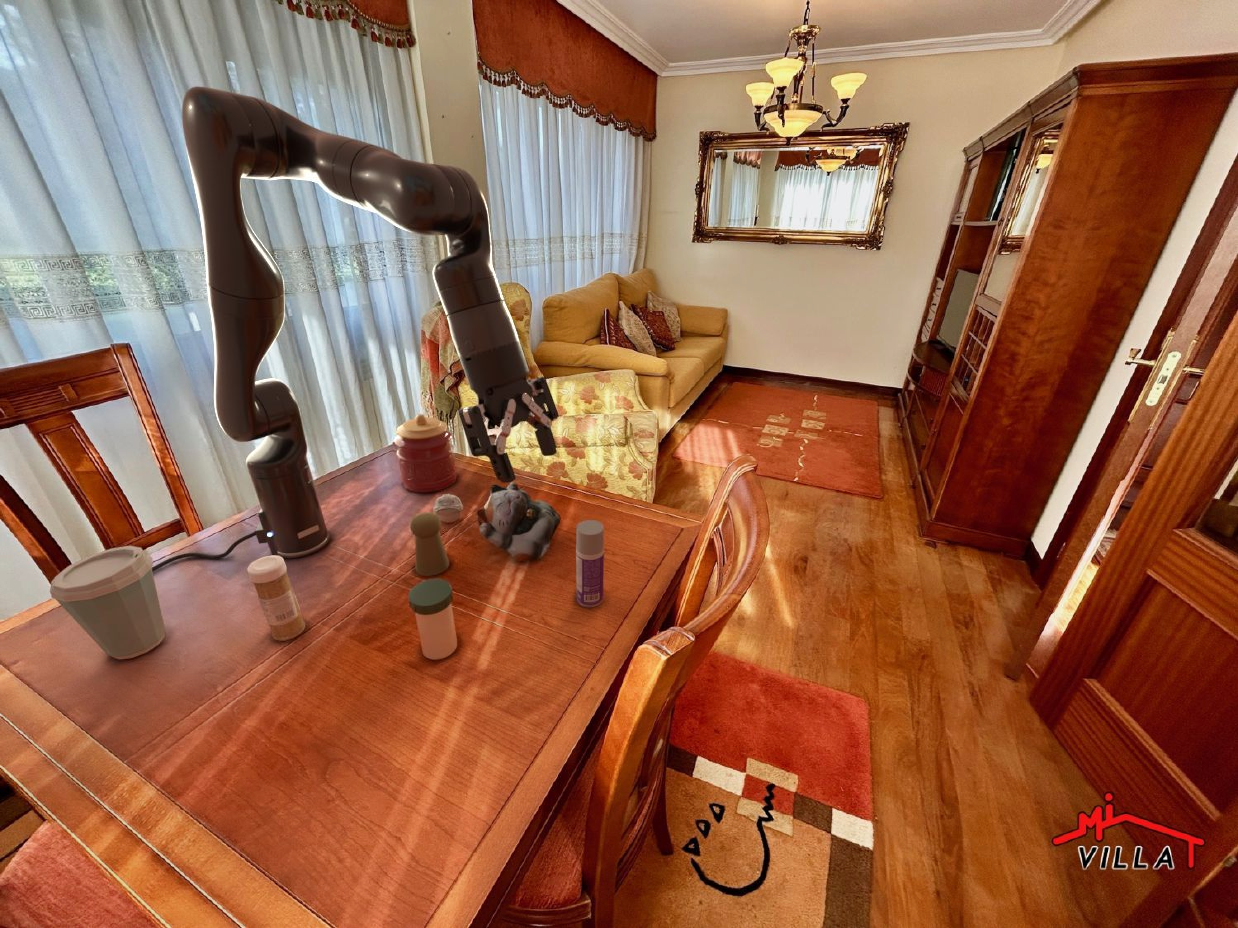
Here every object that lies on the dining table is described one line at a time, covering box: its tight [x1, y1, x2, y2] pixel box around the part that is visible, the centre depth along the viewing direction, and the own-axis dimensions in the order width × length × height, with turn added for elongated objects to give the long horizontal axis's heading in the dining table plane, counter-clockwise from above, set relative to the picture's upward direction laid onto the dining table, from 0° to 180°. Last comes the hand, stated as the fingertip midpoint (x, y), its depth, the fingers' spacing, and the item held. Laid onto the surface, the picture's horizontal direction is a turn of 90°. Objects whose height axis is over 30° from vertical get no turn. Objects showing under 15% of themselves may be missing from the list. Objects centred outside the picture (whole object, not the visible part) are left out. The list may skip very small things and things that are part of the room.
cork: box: [409, 511, 450, 577], centre depth 93 cm, size 6×6×11 cm
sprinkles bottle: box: [246, 554, 306, 642], centre depth 76 cm, size 5×5×14 cm
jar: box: [414, 603, 458, 661], centre depth 75 cm, size 5×5×10 cm
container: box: [575, 519, 605, 608], centre depth 85 cm, size 5×5×15 cm
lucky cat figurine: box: [475, 481, 562, 562], centre depth 100 cm, size 15×12×14 cm
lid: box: [408, 578, 454, 615], centre depth 73 cm, size 6×6×2 cm
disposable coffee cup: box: [49, 545, 166, 660], centre depth 73 cm, size 11×11×15 cm
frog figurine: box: [432, 493, 464, 524], centre depth 107 cm, size 6×7×7 cm
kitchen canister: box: [393, 413, 458, 494], centre depth 120 cm, size 13×13×18 cm
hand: (530, 467), depth 66 cm, fingers open, 8 cm apart
